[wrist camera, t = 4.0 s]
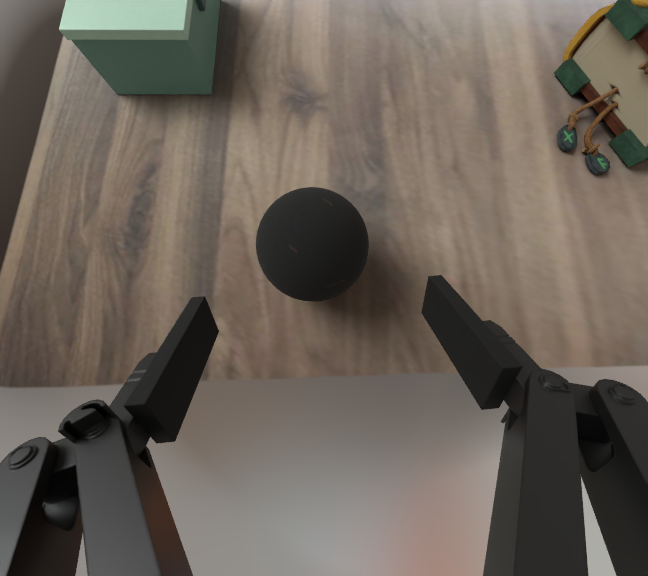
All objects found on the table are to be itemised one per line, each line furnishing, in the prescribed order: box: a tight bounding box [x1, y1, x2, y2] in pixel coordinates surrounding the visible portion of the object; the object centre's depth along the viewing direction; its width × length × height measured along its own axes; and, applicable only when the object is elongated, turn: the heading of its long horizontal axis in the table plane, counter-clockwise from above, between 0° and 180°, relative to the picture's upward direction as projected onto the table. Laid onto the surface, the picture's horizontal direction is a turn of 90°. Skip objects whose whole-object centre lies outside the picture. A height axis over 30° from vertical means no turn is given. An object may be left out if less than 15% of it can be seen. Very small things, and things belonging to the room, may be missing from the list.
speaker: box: [256, 187, 369, 301], centre depth 23 cm, size 10×10×10 cm
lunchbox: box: [59, 0, 221, 94], centre depth 30 cm, size 16×13×7 cm
